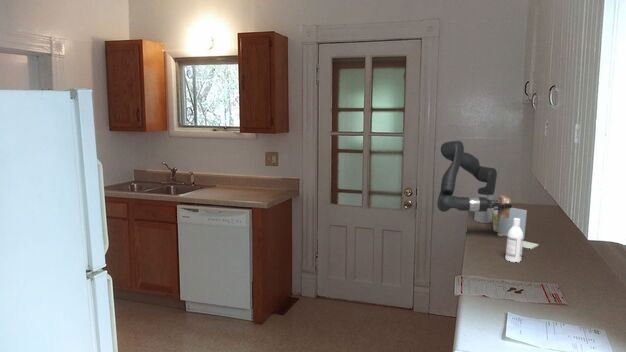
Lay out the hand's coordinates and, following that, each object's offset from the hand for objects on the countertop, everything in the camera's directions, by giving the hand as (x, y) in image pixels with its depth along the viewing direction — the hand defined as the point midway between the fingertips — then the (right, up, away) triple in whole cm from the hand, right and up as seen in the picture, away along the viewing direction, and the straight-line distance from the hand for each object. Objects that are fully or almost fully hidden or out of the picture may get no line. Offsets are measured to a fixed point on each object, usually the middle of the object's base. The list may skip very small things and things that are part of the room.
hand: (509, 204), depth 260 cm
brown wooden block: (-3, -6, +1) cm, 7 cm away
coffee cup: (+3, -16, +23) cm, 29 cm away
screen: (+5, -18, +12) cm, 22 cm away
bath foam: (-9, -24, -27) cm, 38 cm away
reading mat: (+7, -21, -3) cm, 22 cm away
